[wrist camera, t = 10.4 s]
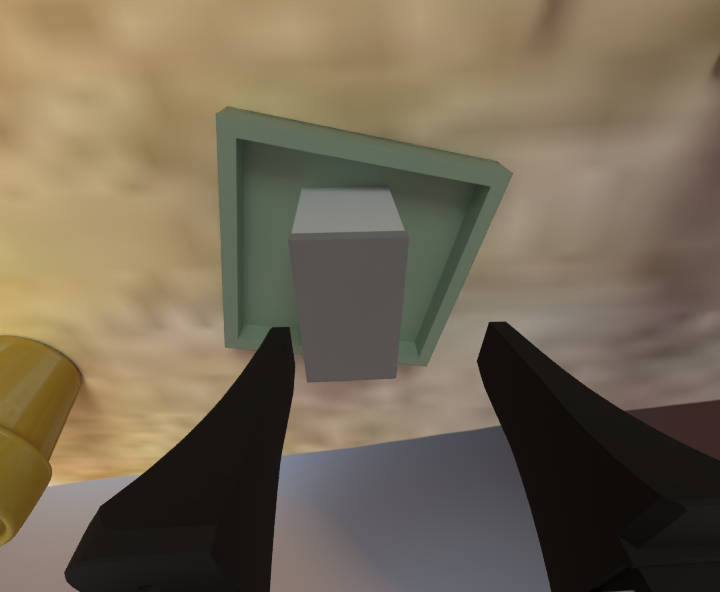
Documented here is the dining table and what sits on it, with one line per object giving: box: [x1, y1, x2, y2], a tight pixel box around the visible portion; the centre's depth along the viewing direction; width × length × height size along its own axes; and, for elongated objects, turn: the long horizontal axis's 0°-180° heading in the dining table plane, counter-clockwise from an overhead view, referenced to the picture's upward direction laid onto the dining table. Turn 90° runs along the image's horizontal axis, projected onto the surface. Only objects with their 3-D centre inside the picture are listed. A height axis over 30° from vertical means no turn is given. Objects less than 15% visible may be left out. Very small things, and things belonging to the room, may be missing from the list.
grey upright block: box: [288, 186, 409, 382], centre depth 18 cm, size 5×8×6 cm, turn 0°
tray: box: [216, 107, 513, 367], centre depth 20 cm, size 14×14×2 cm
